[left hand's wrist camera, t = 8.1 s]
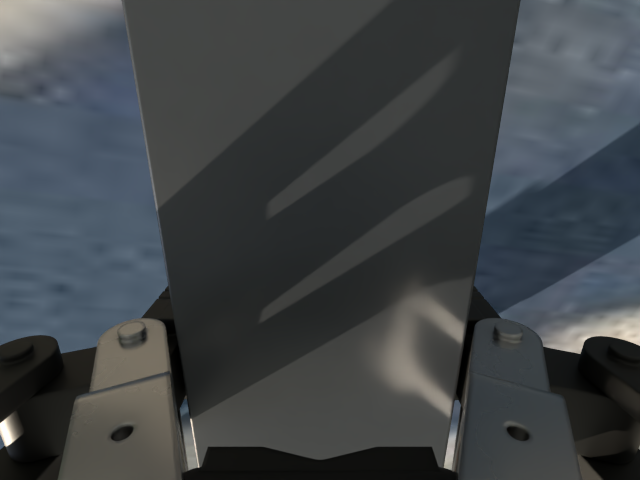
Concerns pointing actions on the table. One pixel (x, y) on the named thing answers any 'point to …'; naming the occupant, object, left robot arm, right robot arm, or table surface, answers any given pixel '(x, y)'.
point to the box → (321, 208)
